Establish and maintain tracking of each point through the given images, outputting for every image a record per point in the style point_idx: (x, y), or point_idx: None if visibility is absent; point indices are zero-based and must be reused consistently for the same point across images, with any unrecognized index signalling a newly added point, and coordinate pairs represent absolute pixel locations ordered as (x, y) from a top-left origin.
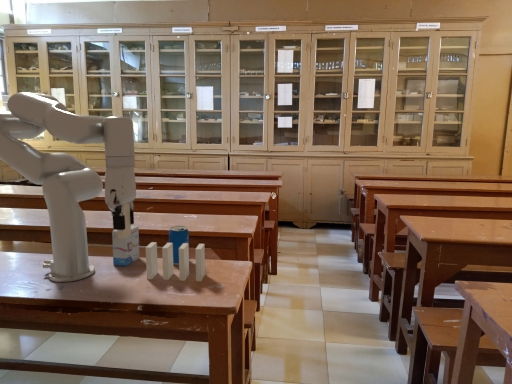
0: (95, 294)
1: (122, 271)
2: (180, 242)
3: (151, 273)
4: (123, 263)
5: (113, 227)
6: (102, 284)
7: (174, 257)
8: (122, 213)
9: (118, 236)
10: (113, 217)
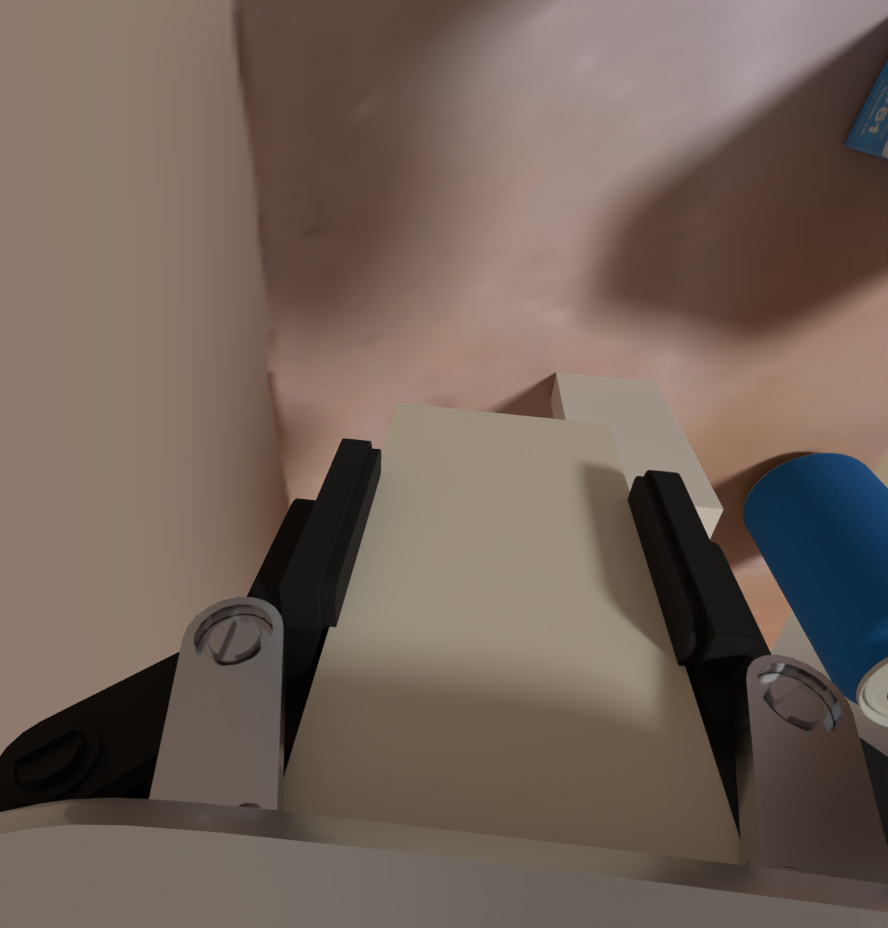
0: (330, 115)
1: (727, 156)
2: (801, 619)
3: (553, 416)
4: (867, 121)
5: (340, 450)
6: (487, 90)
7: (769, 509)
8: (289, 747)
9: (394, 423)
10: (294, 568)
